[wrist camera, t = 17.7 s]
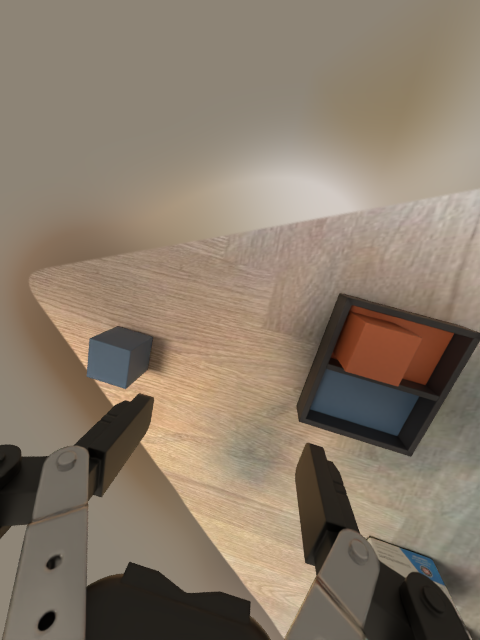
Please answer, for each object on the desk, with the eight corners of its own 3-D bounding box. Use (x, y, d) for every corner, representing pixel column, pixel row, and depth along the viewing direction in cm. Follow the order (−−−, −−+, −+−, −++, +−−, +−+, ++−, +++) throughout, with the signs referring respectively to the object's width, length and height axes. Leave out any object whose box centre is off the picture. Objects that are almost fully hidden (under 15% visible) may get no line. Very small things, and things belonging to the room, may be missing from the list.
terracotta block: (332, 351, 25) (345, 371, 20) (348, 310, 23) (365, 322, 19) (375, 363, 24) (398, 387, 20) (394, 322, 23) (423, 338, 19)
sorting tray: (296, 405, 28) (298, 421, 25) (339, 292, 24) (347, 297, 21) (397, 437, 27) (411, 456, 24) (459, 325, 23) (484, 334, 20)
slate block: (114, 359, 30) (86, 376, 25) (117, 325, 28) (89, 338, 24) (147, 369, 29) (125, 389, 25) (153, 336, 28) (130, 350, 24)
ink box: (432, 557, 31) (525, 731, 19) (414, 580, 32) (491, 756, 21) (367, 534, 31) (420, 691, 20) (352, 559, 33) (394, 718, 21)
